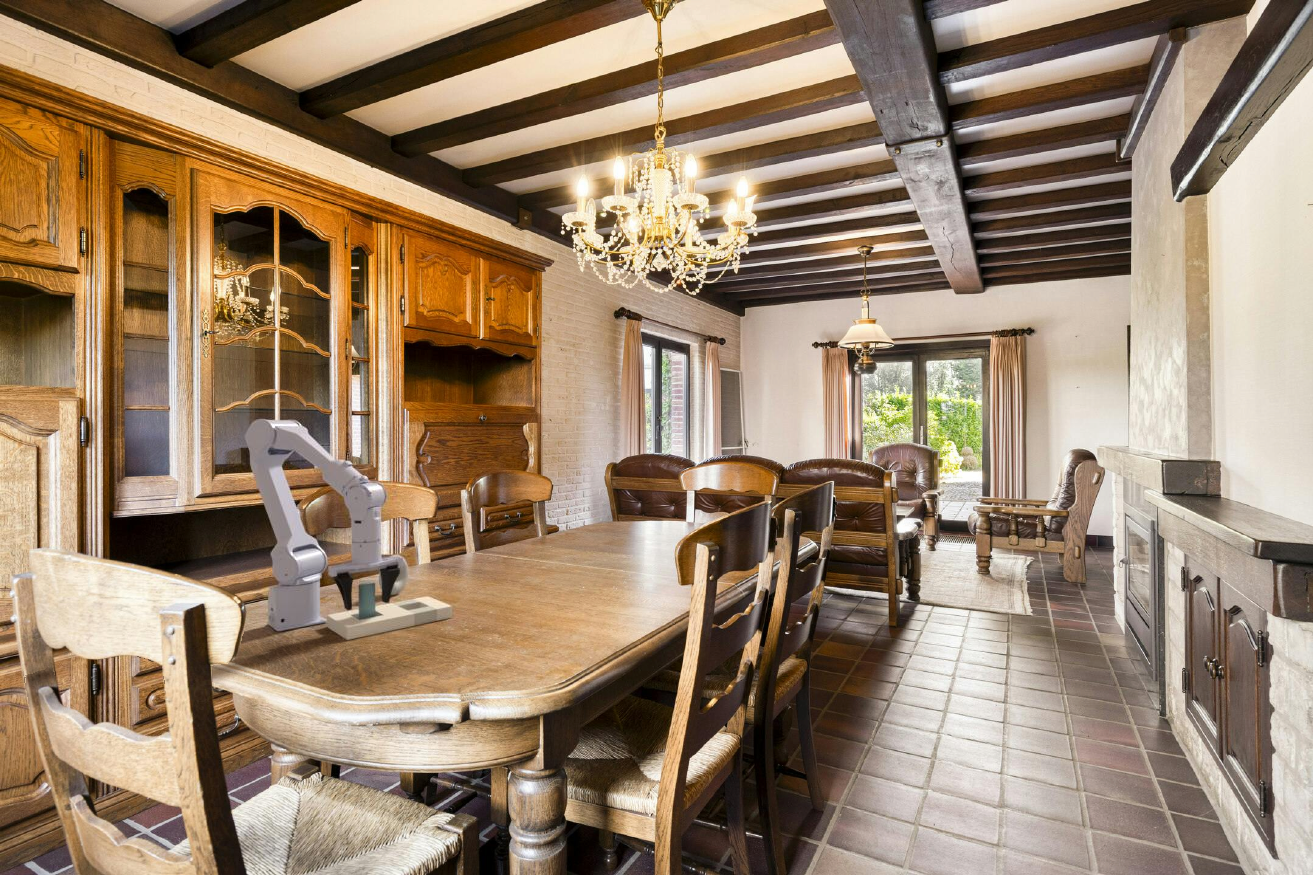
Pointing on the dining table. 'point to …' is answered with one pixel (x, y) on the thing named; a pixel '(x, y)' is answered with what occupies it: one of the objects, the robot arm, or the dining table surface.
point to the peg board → (389, 617)
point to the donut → (398, 578)
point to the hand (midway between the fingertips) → (367, 605)
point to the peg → (366, 600)
